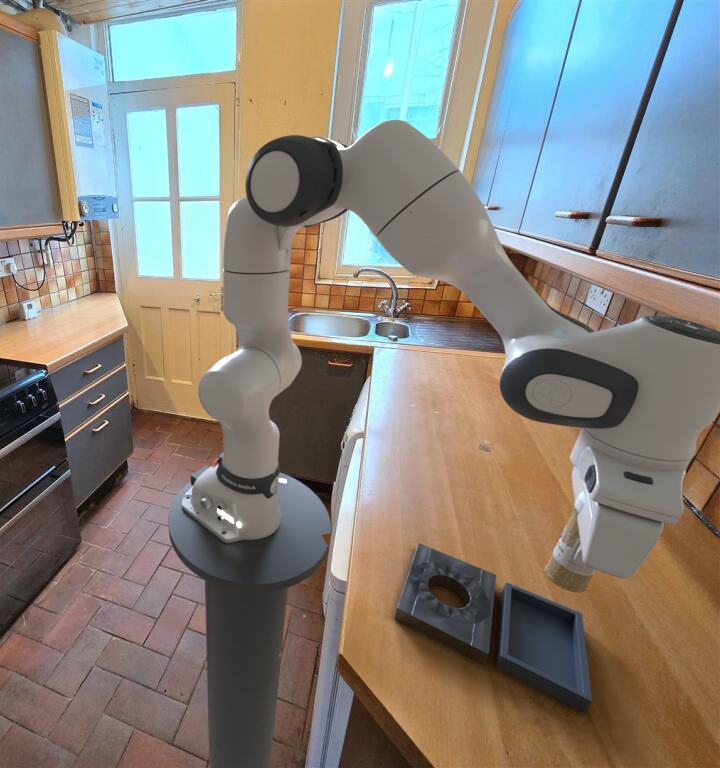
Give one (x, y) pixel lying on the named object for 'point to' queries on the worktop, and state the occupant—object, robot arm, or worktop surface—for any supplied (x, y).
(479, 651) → the drain plate
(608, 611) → the worktop surface
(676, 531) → the worktop surface
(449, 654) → the worktop surface
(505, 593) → the basin tray
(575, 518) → the sprinkles bottle
